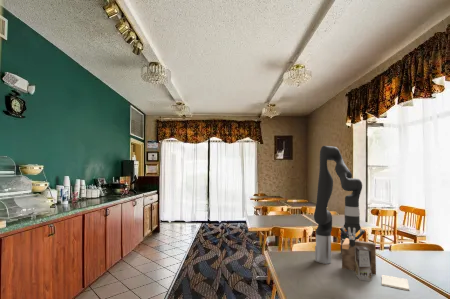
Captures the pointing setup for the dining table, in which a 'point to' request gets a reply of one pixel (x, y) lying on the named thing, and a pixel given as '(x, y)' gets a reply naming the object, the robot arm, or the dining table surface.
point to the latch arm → (346, 244)
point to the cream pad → (395, 282)
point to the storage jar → (344, 238)
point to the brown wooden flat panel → (349, 256)
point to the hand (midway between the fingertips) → (352, 246)
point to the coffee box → (363, 263)
